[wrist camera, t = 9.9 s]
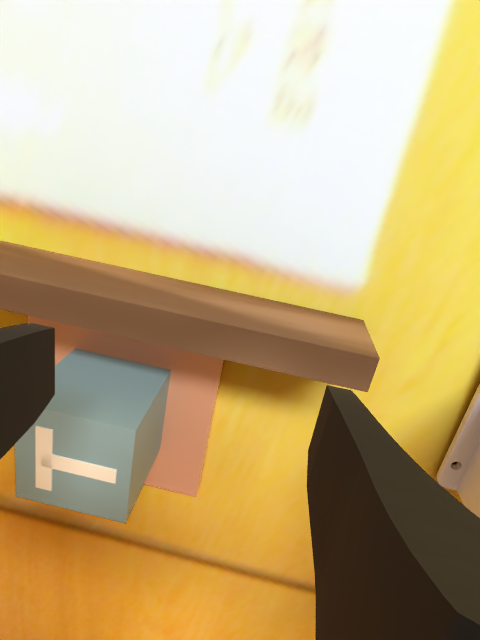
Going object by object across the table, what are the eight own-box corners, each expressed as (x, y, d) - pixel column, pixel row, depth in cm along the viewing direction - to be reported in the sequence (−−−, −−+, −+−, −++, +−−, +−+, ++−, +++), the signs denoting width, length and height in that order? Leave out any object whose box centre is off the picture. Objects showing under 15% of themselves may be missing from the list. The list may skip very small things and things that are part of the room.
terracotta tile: (198, 489, 24) (196, 497, 24) (34, 449, 25) (28, 456, 24) (228, 335, 20) (227, 340, 20) (34, 292, 21) (27, 295, 20)
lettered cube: (159, 449, 23) (124, 524, 18) (72, 428, 23) (14, 497, 18) (171, 369, 21) (134, 431, 16) (75, 348, 21) (12, 402, 16)
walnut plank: (353, 348, 20) (367, 392, 16) (-5, 269, 21) (-70, 293, 17) (362, 320, 19) (379, 358, 16) (-6, 239, 20) (-73, 257, 16)
